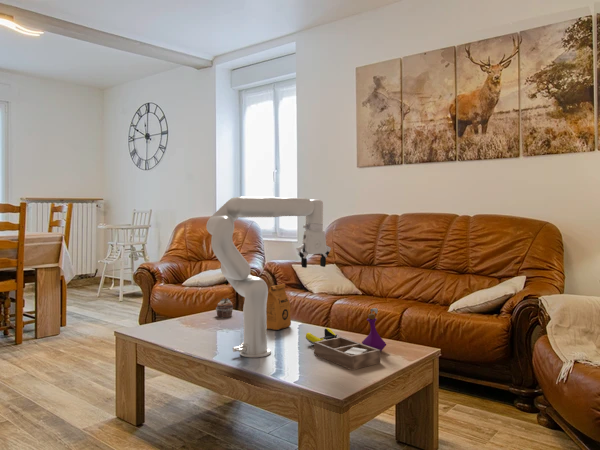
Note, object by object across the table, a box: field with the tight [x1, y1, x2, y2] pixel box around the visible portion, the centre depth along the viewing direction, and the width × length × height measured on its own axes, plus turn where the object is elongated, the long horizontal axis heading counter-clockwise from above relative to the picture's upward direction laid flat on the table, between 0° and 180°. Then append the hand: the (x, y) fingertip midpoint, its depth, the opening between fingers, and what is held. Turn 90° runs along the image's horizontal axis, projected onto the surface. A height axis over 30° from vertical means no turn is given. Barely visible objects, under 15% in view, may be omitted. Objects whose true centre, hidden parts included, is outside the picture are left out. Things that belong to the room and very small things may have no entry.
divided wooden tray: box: [313, 336, 381, 371], centre depth 187 cm, size 14×24×5 cm, turn 33°
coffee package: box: [266, 283, 292, 331], centre depth 238 cm, size 10×12×22 cm
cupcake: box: [215, 297, 234, 318], centre depth 269 cm, size 10×10×10 cm
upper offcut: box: [345, 347, 367, 355], centre depth 182 cm, size 8×6×2 cm
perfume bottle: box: [361, 307, 387, 353], centre depth 196 cm, size 8×8×18 cm
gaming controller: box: [305, 327, 340, 345], centre depth 209 cm, size 15×6×10 cm
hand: (313, 266), depth 208 cm, fingers open, 9 cm apart
